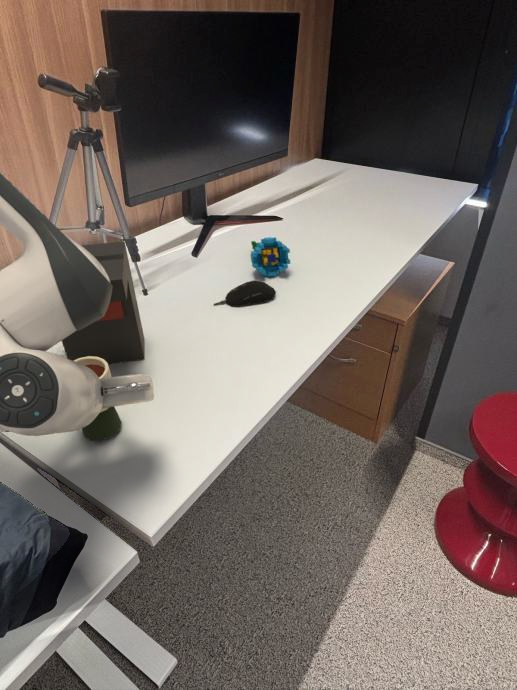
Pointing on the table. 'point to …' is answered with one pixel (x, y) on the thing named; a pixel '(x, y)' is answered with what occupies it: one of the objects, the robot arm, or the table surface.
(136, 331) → the dark brown box
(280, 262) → the toy flower
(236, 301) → the gaming mouse
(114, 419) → the character mug
